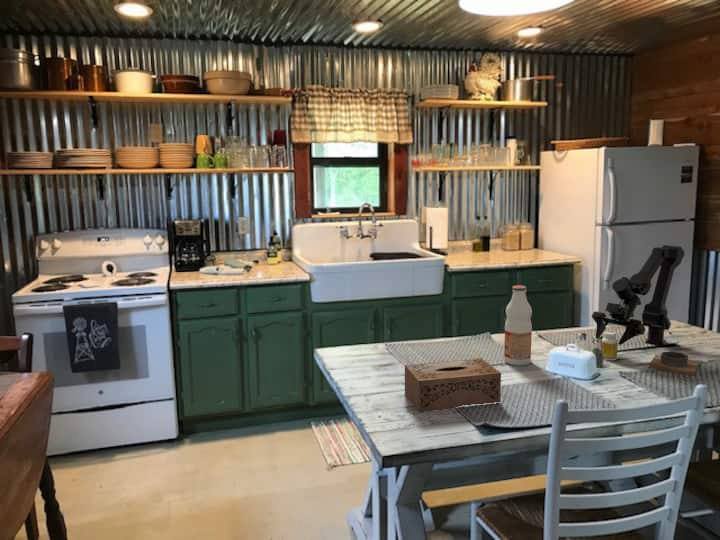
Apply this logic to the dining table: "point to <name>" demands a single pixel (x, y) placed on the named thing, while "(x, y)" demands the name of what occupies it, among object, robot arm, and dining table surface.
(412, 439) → the dining table surface
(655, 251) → the robot arm
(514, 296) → the fruit juice
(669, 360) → the bottle holder
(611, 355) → the supplement bottle
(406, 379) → the tissue box cover
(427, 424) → the dining table surface
